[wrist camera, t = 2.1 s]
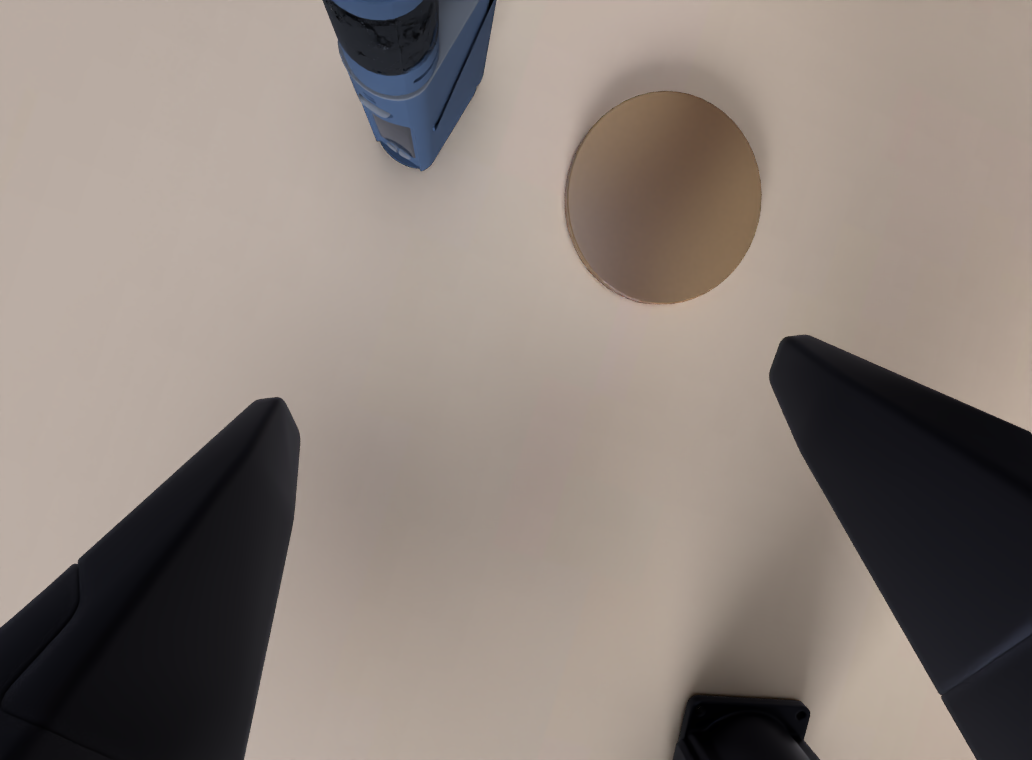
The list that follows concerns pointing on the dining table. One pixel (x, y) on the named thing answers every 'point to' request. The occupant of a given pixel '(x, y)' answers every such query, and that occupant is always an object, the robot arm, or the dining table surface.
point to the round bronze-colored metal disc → (663, 198)
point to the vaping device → (413, 67)
